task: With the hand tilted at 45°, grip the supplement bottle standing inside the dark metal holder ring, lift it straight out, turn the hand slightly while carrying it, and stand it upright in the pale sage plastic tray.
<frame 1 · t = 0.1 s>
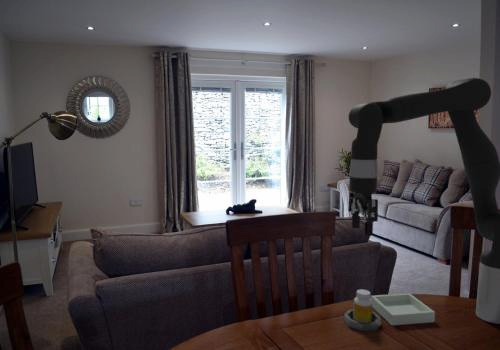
hand: (361, 231, 114), 29 cm above the table, tool pointing down, fingers open, 8 cm apart
supplement bottle: (362, 323, 121), resting in holder ring
tray: (400, 313, 127), on the table
holder ring: (362, 322, 121), on the table
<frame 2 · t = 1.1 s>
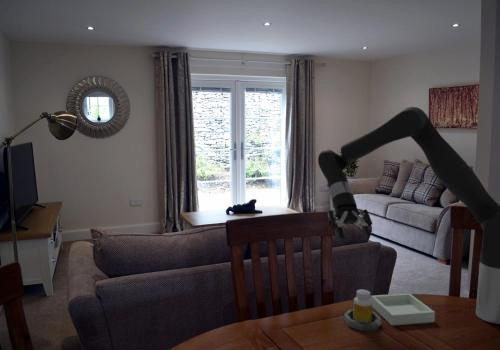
hand: (355, 238, 129), 23 cm above the table, tool tilted 45°, fingers open, 8 cm apart
nothing on the table moved.
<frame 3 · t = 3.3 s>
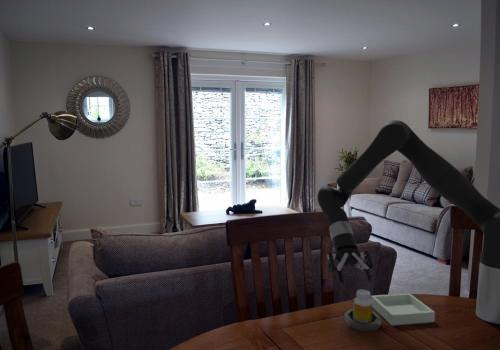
hand: (355, 283, 125), 10 cm above the table, tool tilted 45°, fingers open, 8 cm apart
nothing on the table moved.
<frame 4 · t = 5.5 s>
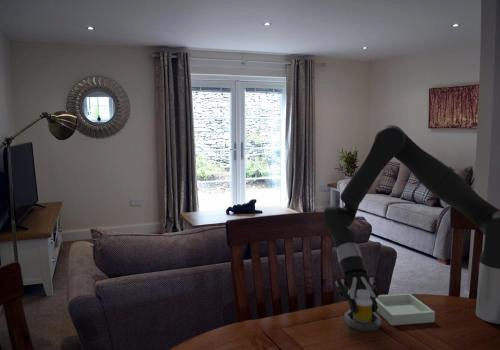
hand: (365, 311, 119), 4 cm above the table, tool tilted 45°, fingers closed on supplement bottle, 5 cm apart
supplement bottle: (362, 323, 121), resting in holder ring, touching gripper
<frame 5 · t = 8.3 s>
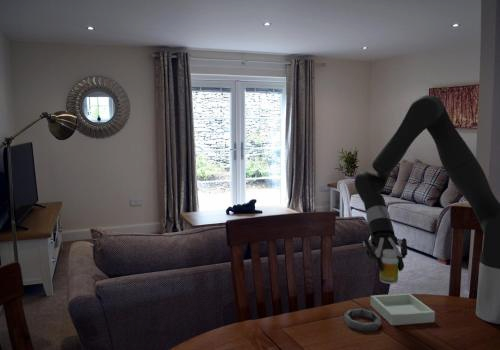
hand: (391, 270, 122), 15 cm above the table, tool tilted 45°, fingers closed on supplement bottle, 5 cm apart
supplement bottle: (388, 281, 125), point 11 cm above the table, touching gripper
when the fingers open (6 cm above the table, at t = 11.2 s): supplement bottle stays where it is, resting on tray.
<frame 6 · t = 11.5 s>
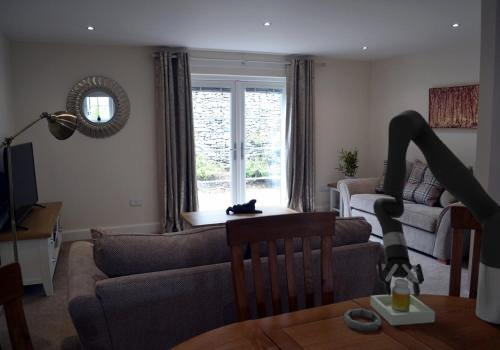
hand: (403, 295, 125), 7 cm above the table, tool tilted 45°, fingers open, 8 cm apart
supplement bottle: (400, 310, 127), point 1 cm above the table, touching tray
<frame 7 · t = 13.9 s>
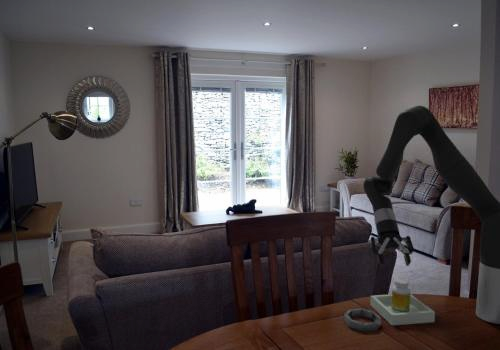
hand: (395, 265, 136), 12 cm above the table, tool tilted 40°, fingers open, 8 cm apart
nothing on the table moved.
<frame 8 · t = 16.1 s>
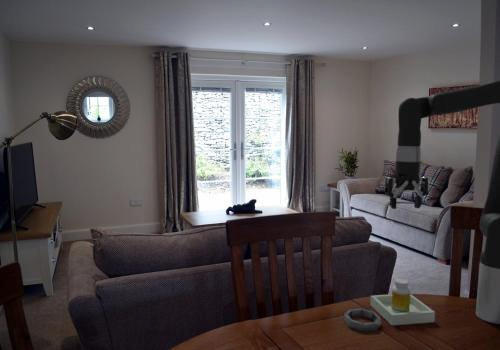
hand: (405, 208, 133), 32 cm above the table, tool pointing down, fingers open, 8 cm apart
nothing on the table moved.
at the end: supplement bottle inside the target area on the tray (0.3 cm from its centre), point 0.6 cm above the tray's base; supplement bottle tilted 0°; the gripper is holding nothing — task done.
